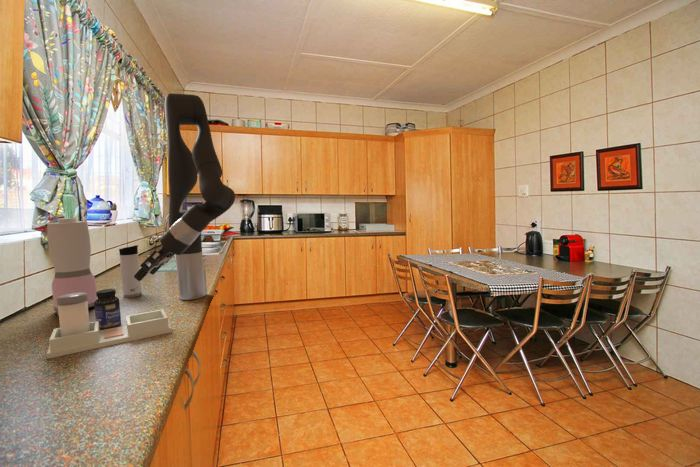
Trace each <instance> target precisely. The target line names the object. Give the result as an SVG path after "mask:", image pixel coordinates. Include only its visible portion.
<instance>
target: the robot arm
mask: <svg viewBox="0 0 700 467" xmlns="http://www.w3.org/2000/svg"><path fill="white" fill-rule="evenodd" d="M164 116H165V123H166V135H167V175H168V189H169V202H168V204H169V206H168V209H169V210H168V229H167V231H165V233H164V234H162V235H161V237H160V238H159V242H160V244H161V246H162V247H158V248H157V249H156V250H154V251H153V252H152V253H151V254H150V255H148V257H147V258H146V259H145V260H144V261H143V262H142V263H141V264H139V267H140V270H139V271H138V272H137V273H136V274H135V275H134V278H136V279H137V280H138V281H142V280H143V279H144V278H145V277H146V276H147V275H148V274H150V275H155V274H156V273H157V272H158V271H159V270H160V269H161V267H164V266H165V264H168V263H169V261H170V260H171V259H172V258H173V257H174V256H175V261H176V262H175V263H176V273H177V276H176V277H177V287H178V298H179V300H182V301H183V300H184V301H187V300H188V301H189V300H196V299H200V298H204V297H205V296H206V295H207V294H208V288H207V287H208V286H207V276H206V275H207V274H206V270H205V269H204V259H203V246H202V245H203V244H202V243H203V242H202V232H203V231H204V230H205V229H206V228H207V227H208V226H209V224H210V223H211V222H213V221H214V220H216V219H218V218H219V217H220V216H222V215H223V214H225V213H226V212H227V211H229V209H230V208H231V207H233V204H234V203H235V200H236V194H235V191H234V190H233V189H232V188H231V187H229V186H228V185H226V184H224V183H223V182H222V179H221V178H222V176H223V169H222V165H221V163H220V161H219V158H218V155H217V152H216V149H215V146H214V142H213V137H212V133H211V128H210V124H209V118H208V114H207V110H206V106H205V103H204V101H203V100H202V98H201V97H200V96H199V95H196V94H187V93H168V94H166V95H165V98H164ZM182 125H183V126H196V127H197V128H196V129H197V131H198V132H197V137H196V139H195V142H194V144H193V147H192V151H191V150H190V148H189V147H188V145H187V144H186V142H185V141H184V139H183V137H182V134H181V129H180V128H181V127H180V126H182ZM197 182H198V183H199V184H198V187H199V192H200V194H201V197H202V199H203V200H204V203H201V204H199V203H198V204H193V205H191V206H190V207H189V208H188V209H182V210H181V207H182V205H183V202H184V201H185V199H186V198H187V197H188V195H189V194H190V193H191V191H193V189H194V187H195V186H196V184H197ZM148 264H150V265H148Z"/></svg>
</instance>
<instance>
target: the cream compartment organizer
mask: <svg viewBox="0 0 700 467" xmlns="http://www.w3.org/2000/svg"><path fill="white" fill-rule="evenodd" d="M56 300H57V305H58V313H59V315H58V318H59V319H58V320H59V327H56V328H53V330H52V333H51V335H50V337H49V340H48V341H49V346H48V349H47V352H46V355H45V356H46V359H51V358H52V359H53V358H58V357H62V356H66V355H72V354H75V353H81V352H85V351H89V350H94V349H99V348H104V347H109V346H113V345H119V344H123V343H127V342H132V341H136V340H141V339H147V338H152V337H156V336H160V335H164V334H165V335H166V334H169V333H170V334H171V333H172V332H173V328H172V326H171V324H170V322H169V317H168V315H167V314H166V312H165V310H164V309H163V308H162V309H159V310H158V309H157V310H153V311H152V310H151V311H146V312H141V313H134V314H130V315H129V314H128V315H126V316H125V320H126V325H122V326H121V325H120V326H118V327H116V328H111V329H105V330H100V329H99V321H96V320H95V321H91V322H90V316H89V314H90V313H89V307H88V303H87V300H88V299H87V293H72V294H66V295H62V296H59V297H57V298H56Z"/></svg>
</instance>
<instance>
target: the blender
mask: <svg viewBox="0 0 700 467" xmlns="http://www.w3.org/2000/svg"><path fill="white" fill-rule="evenodd" d="M88 224H89V223H88V222H87V220H85V221H81V220H79V221H78V219H77V217H64V218H62V217H61V218H57V222H49V223H47V225H46V228H47V230H46V232H47V242H48V251H49V256H50V260H51V262H52V266H53V268H54V277H53V279H52V281H51V291H52V301H53V311H54V312H56V315H57V316H59V313H58V305H57V300H56V298H57V297H59V296H62V295H66V294H72V293H87V299H88V300H87V303H88V308H91V307H95V306H94V302H95V301H96V300H97V299H98V297H97V296H96V292H97V291H98V290H97V282H96V278H95V276H94V273H92V271H91V268H90V266H91V265H90V264H91V255H92V252H91V251H92V247H91V237H90V230H89V225H88Z"/></svg>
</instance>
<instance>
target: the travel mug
mask: <svg viewBox="0 0 700 467" xmlns="http://www.w3.org/2000/svg"><path fill="white" fill-rule="evenodd" d="M138 248H139V245H132V246H127V247H122V248H119V249H118V251H119V261H120V274H121V284H122V286H121V287H122V296H123V298H126V297H129V298H135V297H139V296H140V297H141V296H142V294H143V293H142V282H141V281H142V280H141V281H138V280H137V279H136V278H134V275H135V274H136V273H137V272H138V271H139V270H140V269H141V267H140V260H139V249H138Z"/></svg>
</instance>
